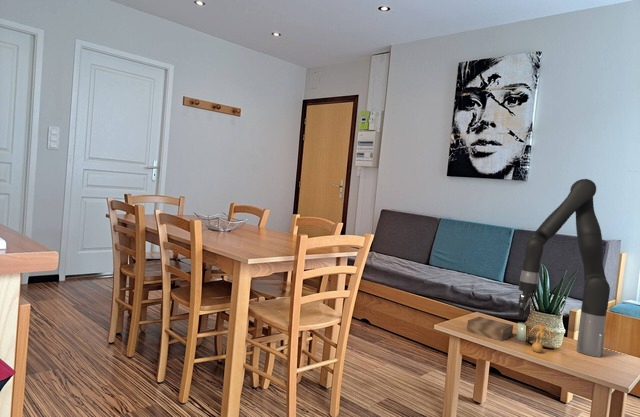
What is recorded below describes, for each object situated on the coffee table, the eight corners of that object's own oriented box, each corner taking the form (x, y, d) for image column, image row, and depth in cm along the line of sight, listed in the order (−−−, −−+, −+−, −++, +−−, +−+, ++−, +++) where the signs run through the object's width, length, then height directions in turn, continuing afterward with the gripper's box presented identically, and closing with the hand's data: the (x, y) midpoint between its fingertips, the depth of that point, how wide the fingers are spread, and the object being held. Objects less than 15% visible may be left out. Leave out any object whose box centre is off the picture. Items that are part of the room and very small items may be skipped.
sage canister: (529, 340, 204) (531, 325, 204) (526, 342, 200) (528, 326, 200) (517, 337, 207) (519, 322, 207) (514, 339, 203) (516, 323, 203)
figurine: (524, 349, 188) (527, 321, 188) (530, 347, 192) (534, 319, 192) (545, 356, 182) (548, 326, 182) (551, 353, 186) (554, 325, 186)
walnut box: (512, 335, 208) (513, 325, 208) (501, 340, 198) (503, 329, 197) (478, 326, 219) (479, 316, 218) (466, 331, 208) (467, 320, 208)
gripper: (533, 284, 195) (528, 321, 196) (542, 282, 206) (537, 316, 206) (515, 280, 200) (510, 316, 201) (525, 278, 211) (520, 312, 211)
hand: (524, 316), depth 203 cm, fingers open, 8 cm apart
